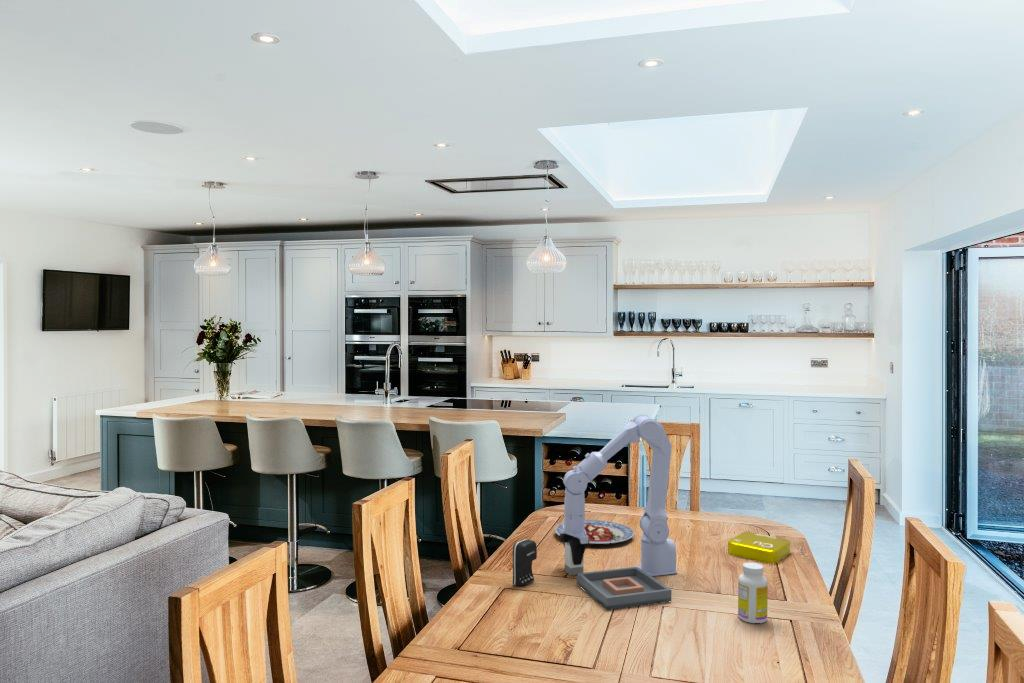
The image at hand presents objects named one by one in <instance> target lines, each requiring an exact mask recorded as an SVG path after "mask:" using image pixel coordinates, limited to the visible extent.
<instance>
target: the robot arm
mask: <svg viewBox="0 0 1024 683" xmlns="http://www.w3.org/2000/svg"><path fill="white" fill-rule="evenodd" d="M641 439H642V440H644V441H645V442H646V444H648V446H650V448H651V449H652V456H651V463H650V464H651V467H650V474H649V483H648V484H649V486H648V494H647V504H646V505H645V507H644V511H643V514H642V516H641V517H640V518H639V519H640V520H639V528H640V530H641V531H642V535H641V537H640V565H635V566H634V567H638V568H640V569H641V570H643V571H644V572H646V573H647V574H649V575H650V576H652V577H657V576H666V575H673V574H674V575H675V574H678V571H677V546H676V543H675V542H674V540H673V539H671V538H669V535H670V529H669V525H668V514H667V510H666V506H667V498H668V497H667V495H668V488H669V487H668V486H669V477H670V466H671V458H672V449H673V448H672V447H673V446H672V443H671V441H670V438H669V437H668V435H667V433H666V431H665V427H664V426H663V425H662V424H661V423H660V422H659V421H657V420H656V419H654V418H652V417H650V416H648V414H647V415H646V414H639V415H636V416H635V417H634V418H633V419H632V420H631V421H628V422H627V424H625V425H624V427H623V428H622V429H621V430H619V431H618V433H616V434H615V435H614V436H613V437H612V438H611V440H609V442H607V443H606V445H604V447H603V448H602V449H600V450H599V451H592V452H590V453H589V452H587V453H586V454H585V455H584V457H585V458H584V459H582V460H581V461H580V463H578V464H577V465H573V467H572V470H571V469H570V470H569V471H567V472H566V473H565V475H564V477H563V479H562V483H563V484H564V487H565V488H564V489H565V490H564V504H563V506H564V507H563V508H564V511H563V513H564V514H563V516H564V517H563V518H564V520H563V522H561V523H560V524H561V530H560V532H561V533H562V534H560V536H559V537H560V538H561V541H562V543H563V544H562V545H563V547H564V548H563V549H565V542H569V544H570V547H571V551H572V560H573V564H574V565H580V564H581V563H582V559H583V560H584V557H583V555H584V556H585V551H586V549H587V547H588V546H589V545H590V544H589V540H588V536H587V535H586V531H585V520H586V519H585V518H586V517H585V516H586V514H585V510H586V498H585V491H586V490H587V487H588V483H591V482H592V481H593V480H594V479H595V478H596V477H598V475H599V474H601V473H602V472H603V471H604V470H605V469H606V468H607V463H608V460H610V459H611V458H612V457H613V456H615V455H616V454H617V453H618V452H619V451H621V450H622V449H623V448H624V447H625V446H627V445H628V444H631V443H640V442H641Z"/></svg>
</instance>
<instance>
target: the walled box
mask: <svg viewBox="0 0 1024 683" xmlns="http://www.w3.org/2000/svg"><path fill="white" fill-rule="evenodd" d="M577 584H578V585H579V586H580V587H582V588H583V589H584V590H585V591H586V592H587V593H588V594H587V593H586V592H585V591H584V590H583V589H582V588H581V589H582V590H583V591H584V592H585V593H586V594H587V595H589V596H590V598H592V597H593V598H594V599H595V601H596V602H597V603H598V604H599V605H600V604H601V605H602V606H601V605H600V606H601V607H602V608H604V609H605V608H606V609H607V610H606V609H605V610H606V611H612V610H611V609H613V610H618V609H619V610H620V609H625V608H626V609H627V607H628V608H634V607H633V606H635V607H641V605H643V606H649V605H648V604H650V605H655V604H654V603H658V604H662V603H661V602H665V603H670V602H669V601H671V602H672V589H671V588H670V587H668V586H667V585H665V584H663V583H662V582H661V581H659V580H657V579H656V578H654V576H650V575H649V574H647V573H646V572H644V571H643V570H641V569H640V568H638V567H635V566H631V567H625V568H623V567H621V568H614V569H613V568H612V569H606V570H596V571H588V572H583V573H577V576H576V585H577ZM578 585H577V586H578ZM579 586H578V587H579ZM580 587H579V588H580ZM593 598H592V599H593ZM594 599H593V600H594Z"/></svg>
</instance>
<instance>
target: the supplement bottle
mask: <svg viewBox="0 0 1024 683" xmlns="http://www.w3.org/2000/svg"><path fill="white" fill-rule="evenodd" d="M742 571H743V573H741V574H740V575H739V576H738V580H737V584H738V587H737V588H738V591H737V615H738V617H739V619H740V620H741V621H743V622H745V623H748V622H749V624H754V623H760V624H763V623H765V622H767V620H768V594H769V593H768V590H769V588H768V586H769V585H768V584H769V583H768V579H767V578H766V576H764V574H763V573H764V571H765V570H764V565H763V564H760V563H757V562H745V563H743V564H742Z"/></svg>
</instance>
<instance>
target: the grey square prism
mask: <svg viewBox="0 0 1024 683" xmlns="http://www.w3.org/2000/svg"><path fill="white" fill-rule="evenodd" d="M584 556H585V554H584V555H583V559H582V563H581V564H580V565H574V564H573V560H572V551H571V547H570V544H569V542H565V548H564V572H566V573H567V572H568V573H569V574H570V575H569V574H568V573H567V574H568V575H569V576H573V574H577V573H584Z"/></svg>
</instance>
